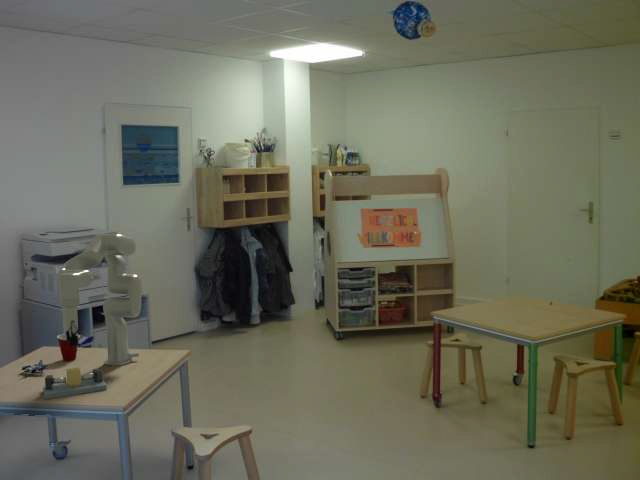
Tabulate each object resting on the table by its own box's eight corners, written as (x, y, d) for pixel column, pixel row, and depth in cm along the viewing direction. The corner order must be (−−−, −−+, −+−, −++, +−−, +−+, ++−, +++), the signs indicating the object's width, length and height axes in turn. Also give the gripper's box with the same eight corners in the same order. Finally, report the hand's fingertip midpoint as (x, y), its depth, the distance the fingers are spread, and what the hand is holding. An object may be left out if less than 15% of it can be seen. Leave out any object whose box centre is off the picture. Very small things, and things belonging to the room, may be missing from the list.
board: (102, 382, 298) (102, 377, 298) (106, 389, 288) (106, 384, 288) (43, 391, 287) (42, 386, 287) (45, 398, 278) (45, 394, 277)
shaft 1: (45, 390, 283) (44, 378, 282) (47, 387, 287) (46, 375, 286) (65, 388, 284) (64, 376, 284) (66, 385, 288) (66, 373, 288)
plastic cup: (76, 362, 329) (75, 338, 328) (54, 362, 330) (53, 338, 328) (85, 356, 340) (83, 332, 339) (63, 356, 341) (62, 332, 339)
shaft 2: (98, 379, 296) (98, 368, 295) (102, 381, 293) (102, 370, 292) (81, 383, 291) (80, 371, 290) (85, 385, 288) (84, 373, 287)
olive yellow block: (68, 388, 285) (67, 371, 284) (67, 385, 288) (66, 369, 288) (81, 386, 287) (80, 369, 286) (79, 383, 291) (78, 367, 290)
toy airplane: (17, 380, 303) (17, 372, 302) (17, 372, 315) (16, 364, 315) (49, 376, 308) (48, 368, 308) (47, 368, 321) (47, 361, 320)
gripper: (58, 299, 290) (60, 339, 292) (62, 307, 275) (65, 349, 277) (76, 298, 293) (78, 337, 295) (82, 305, 278) (84, 346, 280)
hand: (72, 342), depth 286 cm, fingers open, 9 cm apart
